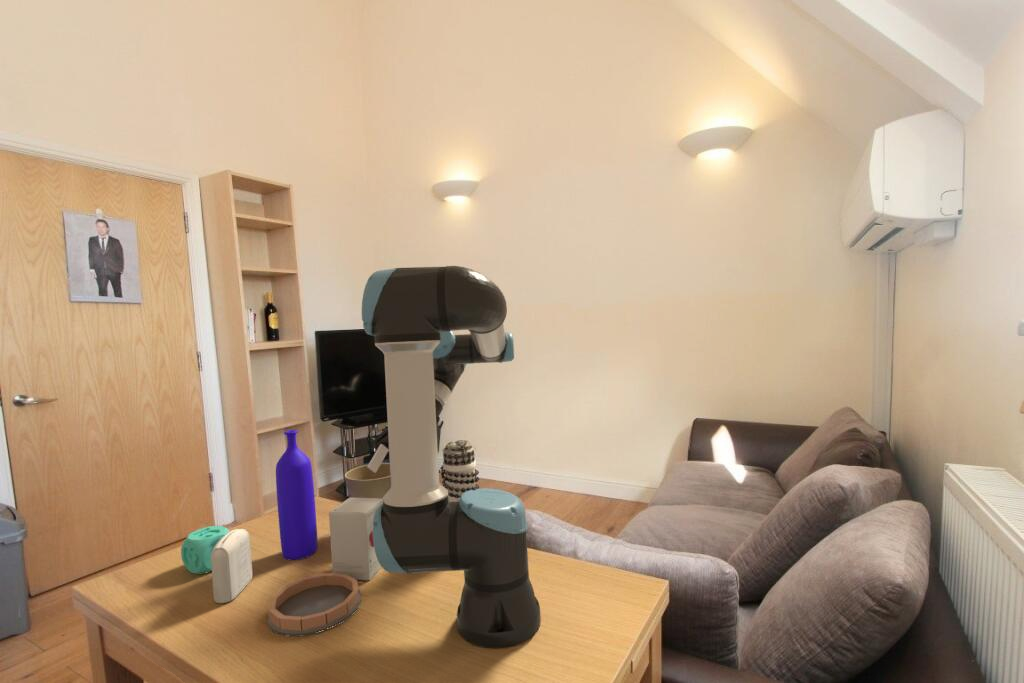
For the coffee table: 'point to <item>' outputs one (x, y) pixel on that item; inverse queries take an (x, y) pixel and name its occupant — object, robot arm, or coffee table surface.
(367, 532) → the supplement box
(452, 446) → the decorative candle
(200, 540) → the mint green rounded piece
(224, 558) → the photo printer
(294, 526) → the bottle
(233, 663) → the coffee table surface
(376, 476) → the plant pot
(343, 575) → the ringed saucer
